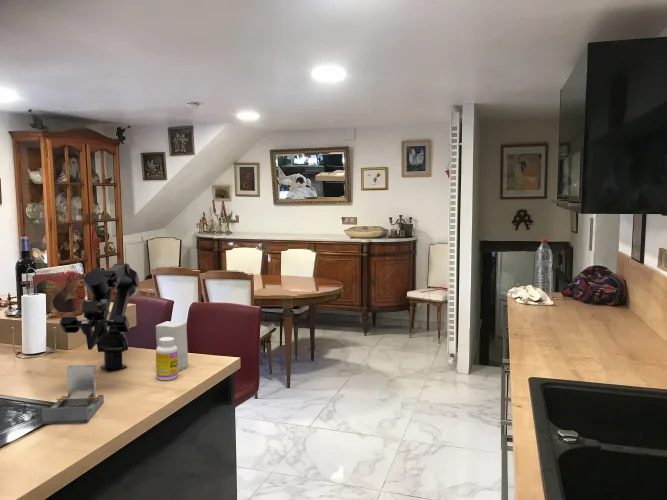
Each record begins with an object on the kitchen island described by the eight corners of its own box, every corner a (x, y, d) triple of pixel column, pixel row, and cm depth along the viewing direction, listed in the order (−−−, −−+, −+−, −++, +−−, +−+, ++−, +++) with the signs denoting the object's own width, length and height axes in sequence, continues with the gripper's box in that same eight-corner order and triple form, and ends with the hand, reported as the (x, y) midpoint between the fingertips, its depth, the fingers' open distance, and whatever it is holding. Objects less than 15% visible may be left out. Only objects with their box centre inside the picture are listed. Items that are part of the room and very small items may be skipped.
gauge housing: (62, 403, 149) (62, 389, 148) (103, 401, 150) (103, 388, 150) (42, 424, 135) (41, 409, 134) (87, 422, 136) (86, 407, 136)
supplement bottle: (171, 381, 167) (170, 342, 165) (152, 380, 168) (151, 340, 167) (181, 374, 173) (181, 336, 172) (163, 373, 175) (162, 335, 173)
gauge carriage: (61, 400, 148) (60, 365, 147) (104, 398, 150) (103, 364, 149) (55, 406, 144) (54, 370, 143) (99, 404, 146) (98, 369, 144)
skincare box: (188, 366, 181) (188, 322, 180) (177, 372, 175) (176, 326, 174) (168, 363, 184) (167, 320, 183) (156, 369, 178) (155, 324, 176)
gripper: (60, 289, 157) (47, 335, 147) (126, 289, 159) (117, 334, 149) (71, 310, 165) (59, 354, 156) (133, 309, 168) (124, 353, 158)
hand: (89, 349), depth 154 cm, fingers closed
